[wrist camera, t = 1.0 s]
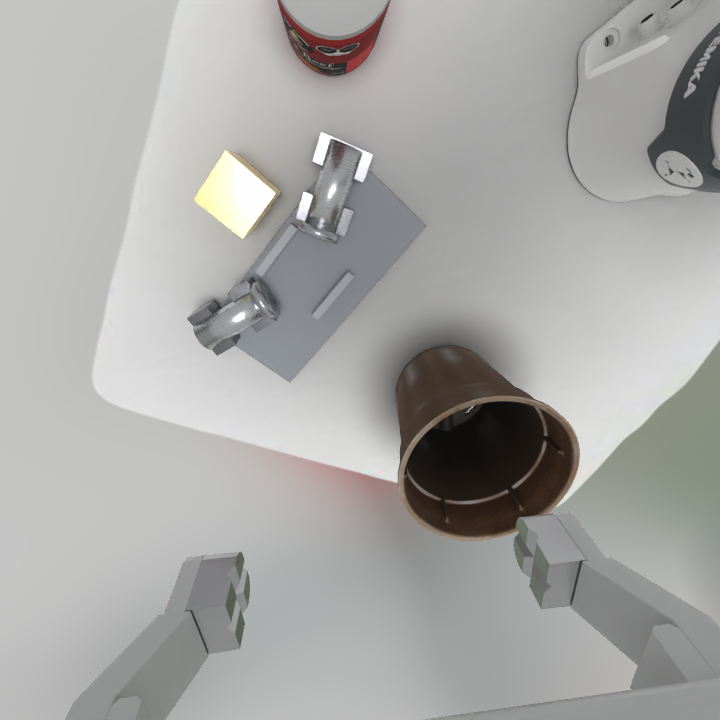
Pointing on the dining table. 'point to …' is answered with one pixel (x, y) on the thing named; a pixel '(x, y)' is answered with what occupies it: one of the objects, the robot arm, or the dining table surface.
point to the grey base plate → (326, 275)
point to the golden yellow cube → (237, 194)
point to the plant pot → (477, 448)
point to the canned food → (333, 31)
